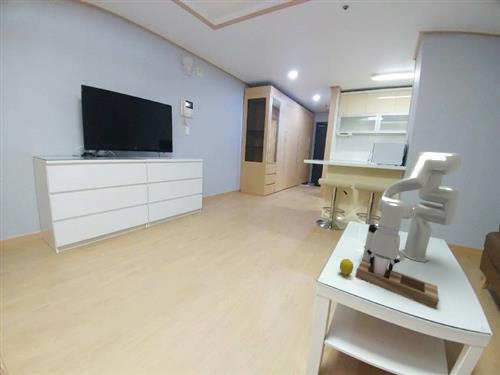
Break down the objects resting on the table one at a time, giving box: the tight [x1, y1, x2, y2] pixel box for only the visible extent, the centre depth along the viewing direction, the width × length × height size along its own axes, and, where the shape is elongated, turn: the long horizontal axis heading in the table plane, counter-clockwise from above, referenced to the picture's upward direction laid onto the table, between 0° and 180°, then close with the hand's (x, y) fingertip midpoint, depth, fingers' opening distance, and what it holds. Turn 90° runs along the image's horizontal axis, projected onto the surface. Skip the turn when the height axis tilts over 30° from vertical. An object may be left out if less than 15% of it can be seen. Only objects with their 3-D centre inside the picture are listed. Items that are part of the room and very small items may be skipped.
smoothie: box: [374, 254, 391, 277], centre depth 94 cm, size 6×6×14 cm
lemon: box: [339, 258, 354, 276], centre depth 97 cm, size 6×6×8 cm
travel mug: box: [361, 223, 378, 264], centre depth 110 cm, size 6×7×20 cm
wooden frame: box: [355, 259, 440, 310], centre depth 92 cm, size 11×28×4 cm, turn 51°
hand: (380, 267), depth 95 cm, fingers closed on smoothie, 6 cm apart
